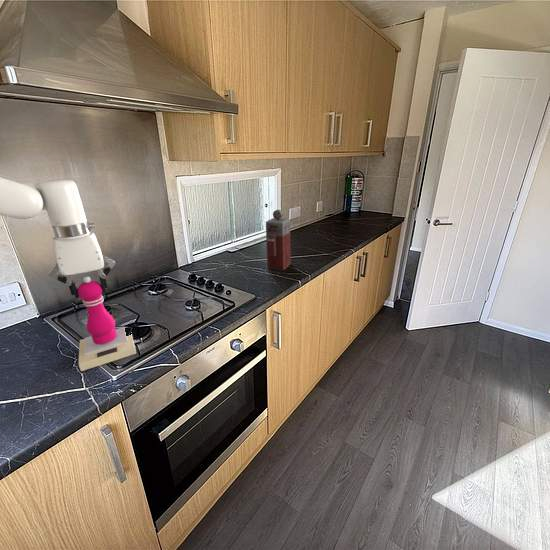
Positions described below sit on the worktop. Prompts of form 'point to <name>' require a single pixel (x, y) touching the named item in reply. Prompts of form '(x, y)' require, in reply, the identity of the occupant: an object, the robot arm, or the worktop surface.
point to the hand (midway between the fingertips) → (91, 292)
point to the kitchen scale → (105, 350)
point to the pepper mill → (96, 312)
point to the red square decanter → (278, 241)
